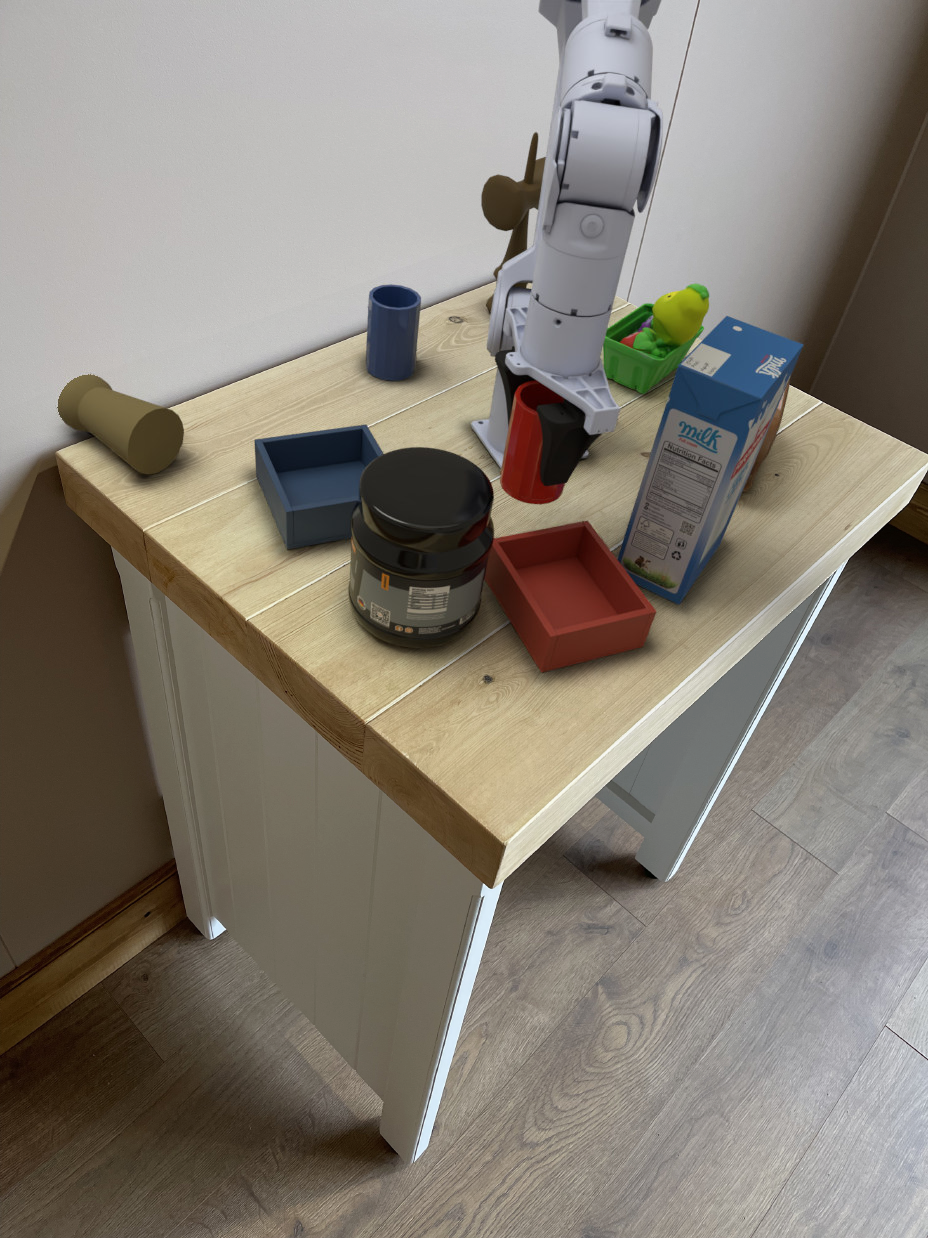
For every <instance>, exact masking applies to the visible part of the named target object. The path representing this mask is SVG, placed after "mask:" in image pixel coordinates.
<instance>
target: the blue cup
mask: <svg viewBox="0 0 928 1238" xmlns="http://www.w3.org/2000/svg"><path fill="white" fill-rule="evenodd" d="M367 302H368V304H367V305H368V306H367V327H366V345H365V346H366V348H365V349H366V351H365V369H366V371H367V373H369V374H370V375H371V376H373V377H375V378H376V379H379V380H382V381H389V382H398V381H399V382H400V381H404V380H407V379H409V378H411V377H412V376H413V375H414V373H415V371H416V361H417V351H418V339H419V327H420V316H421V306H422V296H421V295H420V294H419V292H418V291H416V290H414V289H412V288H410V287H408V286H404V285H401V284H381V285H378V286H375V287H373V288H372V289H371V290H370V291H369V292H368V301H367Z"/></svg>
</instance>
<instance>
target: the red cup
mask: <svg viewBox="0 0 928 1238" xmlns="http://www.w3.org/2000/svg"><path fill="white" fill-rule="evenodd" d="M563 401H564V398H563V397H562V396H560V395H559V394H557V393H555V392H554V391H552V390H551V389H549V388H548V387H546V386H545V385H543V384H541V383H540V382H538V381H537V380H534V381H528V382H525V383H524V384H522V385H520V386H519V387H518V388H517V390H516V392H515V395H514V400H513V406H512V412H511V417H510V423H509V428H508V434H507V439H506V445H505V451H504V456H503V462H502V467H501V469H500V472H499V473H500V475H499V477H500V478H499V483H500V487H501V489H502V490H503V491H504V493H506V494H507V495H508V496H509V497H511V498H513V500H516V501H519V502H521V503H524V504H529V505H546V504H551V503H553V502H555V501H557V500H559V498H560V497H562V495H563V494H564V491H565V490H564V489H565V486H566V483H563V484H557V485H551V486H544V485H543V483H542V482H541V477H540V466H541V458H542V448H543V439H542V429H541V423H540V420H539V416H538V413H537V411H536V410H537V406H538V405H546V404H553V403H563Z"/></svg>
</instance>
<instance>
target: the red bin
mask: <svg viewBox="0 0 928 1238" xmlns="http://www.w3.org/2000/svg"><path fill="white" fill-rule="evenodd" d="M617 558H618V557H616V556H615V554H614V553H613V552H612V551H611V549H610V548H609V546H608V545H607V544H606V542H605V541H604V540H603V538H602V537H601V536H600V534H599V533H598V532H597V530H596V529H595V528H594V527H593V525H592V523H591V522H589V520H582V521H577V522H571V523H566V524H562V525H557V526H556V525H555V526H551V527H545V528H540V529H535V530H530V531H526V532H524V531H523V532H520V533H514V534H510V535H504V536H499V537H494V540H493V544H492V548H491V550H490V552H489V557H488V563H487V568H486V574H485V579H484V582H485V583H486V584H487V586H488V588H489V589H490V591H491V593H492V594H493V596H494V598H495V599H496V601H497V603H498V604H499V605H500V608H501V609H502V610H503V612H504V614H505V615H506V617H507V619H508V621H509V622H510V624H511V625H512V627H513V629H514V631H515V632H516V633H517V635H518V637H519V638H520V640H521V642H522V643H523V645H524V647H525V649H526V650H527V652H528V653H529V655H530V657H531V658H532V660H533V662H534V663H535V665H536V666H537V668H538V669H539V671H540V673H544V672H549V671H552V670H557V669H561V668H565V667H569V666H572V665H577V664H580V663H581V664H582V663H584V662H589V661H593V660H597V659H600V658H604V657H608V656H613V655H616V654H620V653H625V652H629V651H632V650H636V649H640V648H643V647H644V646H645V644H646V641H647V638H648V636H649V633H650V630H651V627H652V626H653V622H654V620H655V617H656V615H657V610H656V608H655V607H654V606H653V604H652V603H651V601H649V599H648V598H647V597H646V595H645V594H644V593H643V591H642V590H641V589H640V586H639V585H637V584H635V582H634V581H633V580H632V578H631V577H630V576H629V574H628V573H627V572H626V570H625V569H624V568H623V566H622V565H621V564H620V562H619V561H618V560H617Z"/></svg>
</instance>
